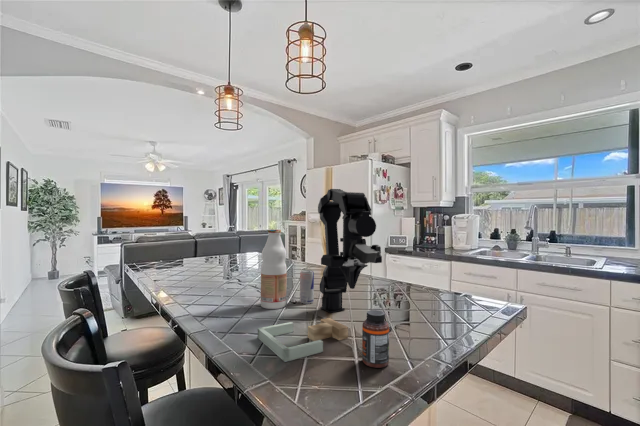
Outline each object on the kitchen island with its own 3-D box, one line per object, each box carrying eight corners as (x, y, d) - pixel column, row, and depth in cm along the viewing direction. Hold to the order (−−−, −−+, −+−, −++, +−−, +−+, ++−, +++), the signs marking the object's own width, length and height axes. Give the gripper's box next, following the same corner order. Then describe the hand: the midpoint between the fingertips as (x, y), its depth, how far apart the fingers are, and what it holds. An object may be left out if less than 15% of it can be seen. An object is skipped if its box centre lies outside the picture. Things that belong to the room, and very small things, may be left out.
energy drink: (315, 301, 120) (315, 270, 120) (310, 304, 115) (311, 272, 115) (302, 299, 122) (303, 269, 122) (297, 303, 117) (297, 271, 117)
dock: (291, 330, 88) (291, 321, 88) (322, 351, 74) (322, 341, 74) (257, 337, 82) (257, 328, 82) (284, 362, 69) (284, 350, 69)
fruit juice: (260, 310, 107) (262, 230, 108) (260, 302, 116) (261, 229, 117) (287, 308, 109) (288, 230, 110) (284, 301, 119) (285, 229, 119)
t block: (328, 328, 91) (329, 317, 91) (347, 338, 83) (347, 327, 83) (302, 334, 86) (302, 323, 86) (319, 345, 78) (319, 333, 78)
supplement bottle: (359, 357, 72) (359, 308, 72) (384, 356, 72) (384, 308, 72) (365, 369, 66) (365, 316, 66) (392, 368, 66) (392, 316, 66)
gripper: (343, 237, 78) (343, 298, 78) (395, 235, 88) (395, 290, 88) (320, 235, 88) (319, 290, 87) (369, 234, 98) (369, 283, 97)
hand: (352, 288), depth 90 cm, fingers closed
